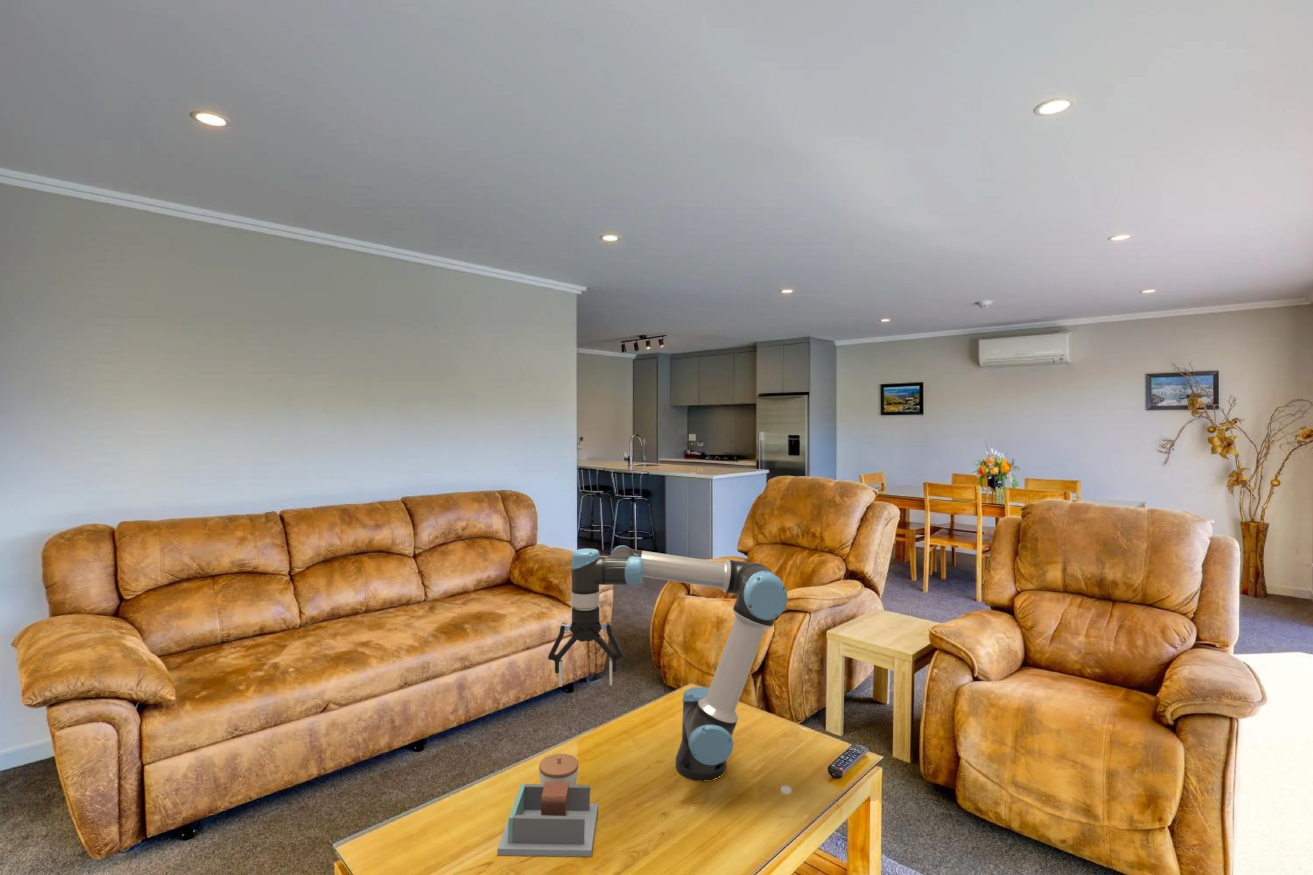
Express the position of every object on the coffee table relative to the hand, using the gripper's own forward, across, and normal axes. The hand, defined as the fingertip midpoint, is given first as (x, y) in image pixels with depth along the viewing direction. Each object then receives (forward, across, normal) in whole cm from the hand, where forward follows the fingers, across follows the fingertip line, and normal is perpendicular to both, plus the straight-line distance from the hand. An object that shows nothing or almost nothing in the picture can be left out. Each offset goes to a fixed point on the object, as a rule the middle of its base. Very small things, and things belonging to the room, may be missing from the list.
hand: (585, 683), depth 167 cm
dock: (+30, +8, +15) cm, 35 cm away
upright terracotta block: (+29, +7, +15) cm, 33 cm away
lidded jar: (+31, +8, -2) cm, 32 cm away
